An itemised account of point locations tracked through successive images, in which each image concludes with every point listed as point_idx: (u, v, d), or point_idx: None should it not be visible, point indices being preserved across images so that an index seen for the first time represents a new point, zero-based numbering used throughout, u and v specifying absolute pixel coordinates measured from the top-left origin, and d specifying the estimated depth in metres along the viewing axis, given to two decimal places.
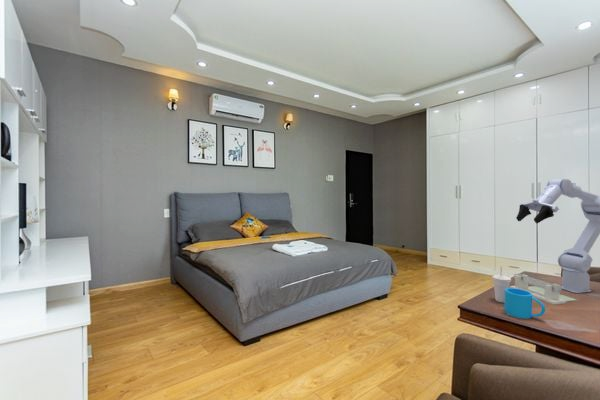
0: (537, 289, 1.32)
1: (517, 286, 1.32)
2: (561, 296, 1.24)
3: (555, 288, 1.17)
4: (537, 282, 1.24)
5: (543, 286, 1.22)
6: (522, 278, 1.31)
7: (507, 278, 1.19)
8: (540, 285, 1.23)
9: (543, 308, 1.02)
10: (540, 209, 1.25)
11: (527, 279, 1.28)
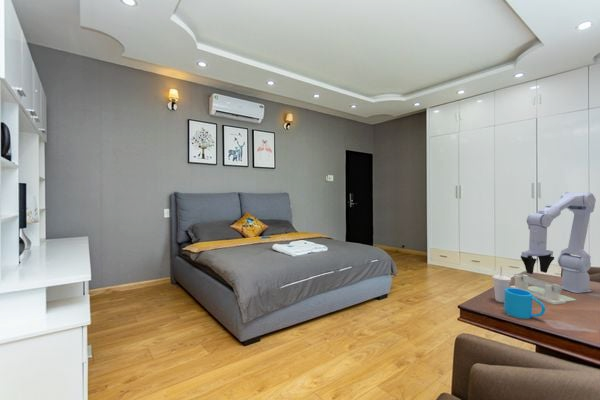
0: (537, 289, 1.32)
1: (517, 286, 1.32)
2: (561, 296, 1.24)
3: (555, 288, 1.17)
4: (537, 282, 1.24)
5: (543, 286, 1.22)
6: (522, 278, 1.31)
7: (507, 278, 1.19)
8: (540, 285, 1.23)
9: (543, 308, 1.02)
10: (539, 255, 1.26)
11: (527, 279, 1.28)
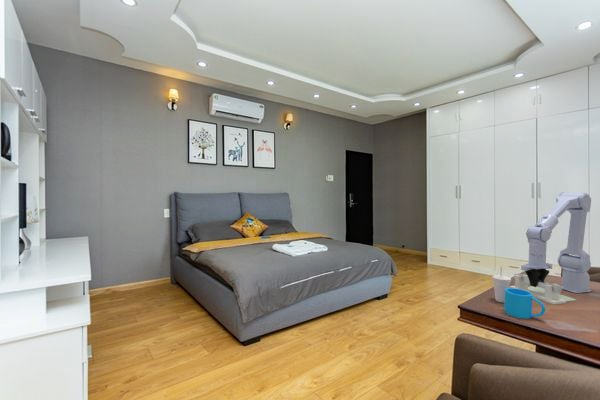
0: (537, 289, 1.32)
1: (517, 286, 1.32)
2: (561, 296, 1.24)
3: (555, 288, 1.17)
4: (537, 282, 1.24)
5: (543, 286, 1.22)
6: (522, 278, 1.31)
7: (507, 278, 1.19)
8: (540, 285, 1.23)
9: (543, 308, 1.02)
10: (539, 268, 1.26)
11: (527, 279, 1.28)
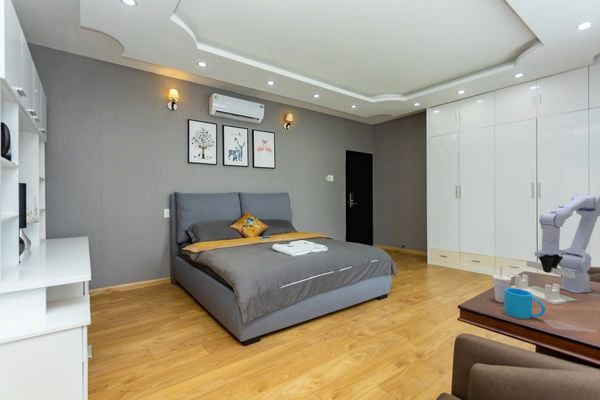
0: (537, 289, 1.32)
1: (517, 286, 1.32)
2: (561, 296, 1.24)
3: (569, 273, 1.19)
4: None
5: (556, 272, 1.23)
6: (535, 265, 1.32)
7: (507, 278, 1.19)
8: (553, 271, 1.25)
9: (543, 308, 1.02)
10: (552, 255, 1.27)
11: (540, 266, 1.30)
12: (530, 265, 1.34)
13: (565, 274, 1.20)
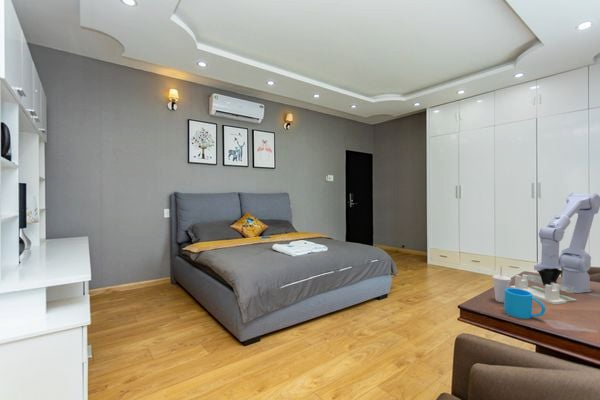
0: (537, 289, 1.32)
1: (517, 286, 1.32)
2: (561, 296, 1.24)
3: (568, 288, 1.19)
4: (550, 283, 1.26)
5: None
6: (534, 279, 1.32)
7: (507, 278, 1.19)
8: None
9: (543, 308, 1.02)
10: (551, 268, 1.28)
11: (539, 280, 1.30)
12: (529, 278, 1.34)
13: (564, 289, 1.20)
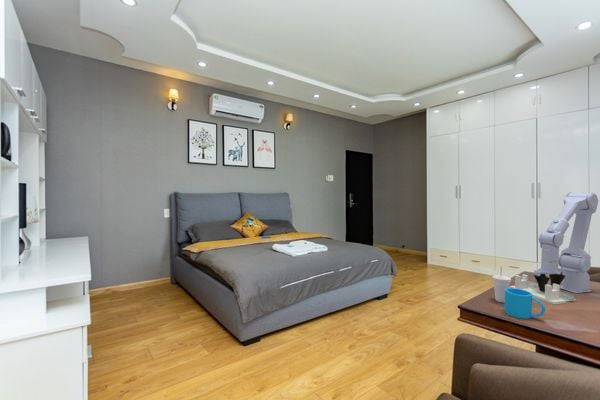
0: None
1: (517, 286, 1.32)
2: None
3: (568, 297, 1.19)
4: None
5: None
6: (534, 286, 1.32)
7: (507, 278, 1.19)
8: None
9: (543, 308, 1.02)
10: (551, 273, 1.28)
11: None
12: (529, 285, 1.35)
13: (564, 297, 1.21)
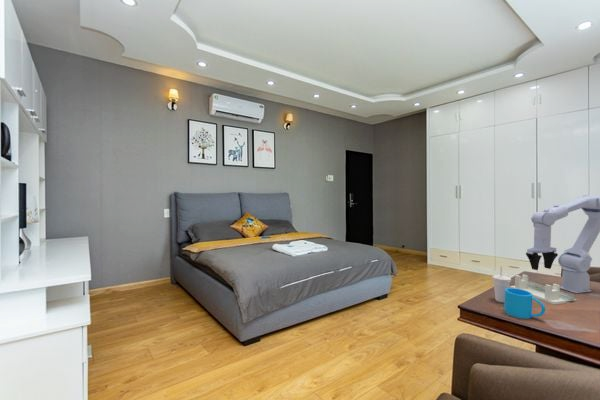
0: None
1: (517, 286, 1.32)
2: None
3: (568, 297, 1.19)
4: None
5: None
6: (534, 286, 1.32)
7: (507, 278, 1.19)
8: None
9: (543, 308, 1.02)
10: (543, 252, 1.32)
11: (539, 287, 1.30)
12: (529, 285, 1.35)
13: (564, 297, 1.21)
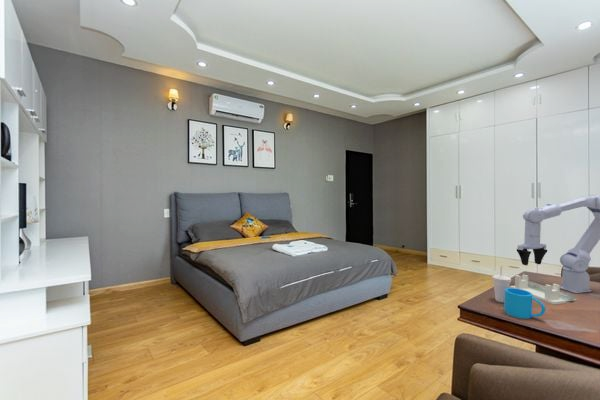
0: None
1: (517, 286, 1.32)
2: None
3: (568, 297, 1.19)
4: None
5: None
6: (534, 286, 1.32)
7: (507, 278, 1.19)
8: None
9: (543, 308, 1.02)
10: (534, 248, 1.37)
11: (539, 287, 1.30)
12: (529, 285, 1.35)
13: (564, 297, 1.21)
